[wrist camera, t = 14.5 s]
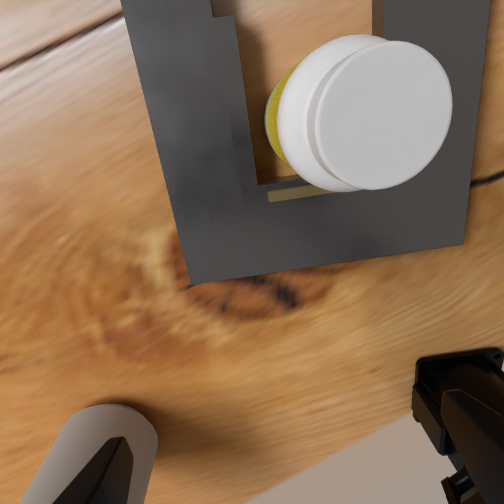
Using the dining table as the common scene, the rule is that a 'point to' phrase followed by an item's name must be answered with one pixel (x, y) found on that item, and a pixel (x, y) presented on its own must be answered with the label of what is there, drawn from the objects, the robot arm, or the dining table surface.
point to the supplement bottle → (360, 113)
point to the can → (95, 451)
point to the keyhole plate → (294, 187)
